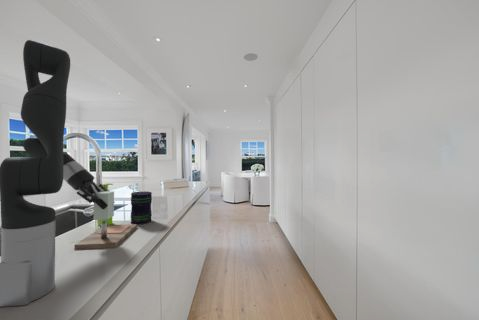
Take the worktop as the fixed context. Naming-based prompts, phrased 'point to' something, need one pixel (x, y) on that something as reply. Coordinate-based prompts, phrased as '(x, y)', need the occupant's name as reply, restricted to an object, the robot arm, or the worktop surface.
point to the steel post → (103, 229)
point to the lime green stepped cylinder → (109, 221)
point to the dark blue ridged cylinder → (141, 207)
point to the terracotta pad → (115, 229)
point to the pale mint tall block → (109, 210)
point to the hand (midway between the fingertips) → (109, 205)
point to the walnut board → (109, 242)
